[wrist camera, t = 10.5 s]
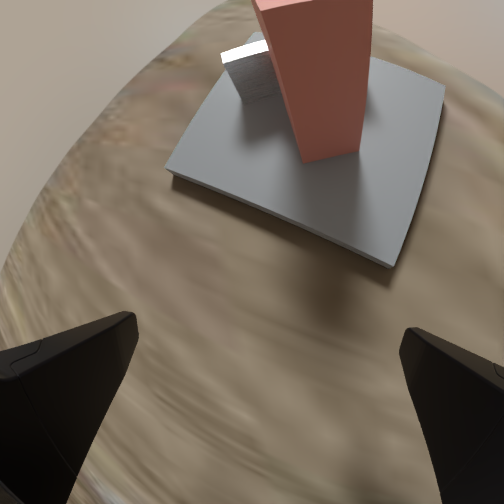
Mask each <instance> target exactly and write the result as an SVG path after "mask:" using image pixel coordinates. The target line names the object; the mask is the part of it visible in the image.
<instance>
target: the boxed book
mask: <svg viewBox="0 0 504 504" xmlns="http://www.w3.org/2000/svg"><path fill="white" fill-rule="evenodd" d="M251 2H252V5H253V7H254V10H255V13H256V16H257V18H258V21H259V24H260V27H261V30H262V33H263V36H264V39H265V42H266V45H267V48H268V51H269V54H270V57H271V60H272V63H273V67H274V70H275V73H276V76H277V80H278V83H279V86H280V90H281V93H282V96H283V100H284V103H285V107H286V110H287V113H288V116H289V119H290V122H291V126H292V129H293V132H294V135H295V138H296V142H297V145H298V148H299V152H300V155H301V158H302V162H303V164H304V163H308V162H312V161H316V160H321V159H325V158H329V157H334V156H338V155H343V154H347V153H352V152H357V151H359V150H360V143H361V136H362V129H363V122H364V114H365V106H366V97H367V88H368V78H369V67H370V54H371V38H372V16H373V13H372V12H373V0H251Z"/></svg>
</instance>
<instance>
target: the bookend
mask: <svg viewBox="0 0 504 504" xmlns="http://www.w3.org/2000/svg"><path fill="white" fill-rule="evenodd" d="M221 57H222V62H223V65H224V67H225V69H226V70H227V72H228V74H229V76H230V78H231V80H232V82H233V84H234V86H235V88H236V90H237V92H238V94H239V96H240V98H241V100H242V102H243V104H244V105H245V104H248V103H252V102H255V101H259V100H262V99H266V98H269V97H273V96H277V95H281V94H282V93H281V90H280V86H279V83H278V80H277V76H276V73H275V70H274V67H273V63H272V60H271V57H270V54H269V51H268V48H267V45H266V42H265V40H263V41H259V42H256V43H252V44H249V45H245V46H242V47H239V48H235V49H232V50H229V51H226V52H223V53H221Z"/></svg>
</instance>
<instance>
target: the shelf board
mask: <svg viewBox="0 0 504 504" xmlns="http://www.w3.org/2000/svg"><path fill="white" fill-rule="evenodd" d="M263 40H265V39H264V36H263V33H259V32H254V33H253V34H252V35H251V37H250V38H249V39H248V40H247V42H246V43H245V44H244V46H245V45H249V44H252V43H256V42H259V41H263ZM445 87H446V86H444V85H442V84H440V83H438V82H436V81H434V80H432V79H429V78H427V77H425V76H422V75H420V74H418V73H415V72H413V71H410V70H408V69H405V68H403V67H400V66H397V65H395V64H392V63H389V62H386V61H383V60H380V59H377V58H374V57H371V56H370V67H369V78H368V88H367V97H366V106H365V114H364V122H363V129H362V136H361V143H360V150H359V151H357V152H352V153H347V154H343V155H338V156H334V157H329V158H325V159H321V160H316V161H312V162H308V163H304V164H303V162H302V158H301V155H300V152H299V148H298V145H297V142H296V138H295V135H294V132H293V129H292V126H291V122H290V119H289V116H288V113H287V110H286V107H285V103H284V100H283V96H282V94H281V95H277V96H273V97H269V98H266V99H262V100H259V101H255V102H252V103H248V104H245V105H244V104H243V102H242V100H241V98H240V96H239V94H238V92H237V90H236V88H235V86H234V84H233V82H232V80H231V78H230V76H229V74H228V72H227V70H225V71H224V73H223V74H222V76H221V77H220V78H219V80H218V81H217V83H216V84H215V86H214V87H213V89H212V90H211V92H210V93H209V95H208V96H207V98H206V99H205V101H204V102H203V104H202V105H201V107H200V108H199V110H198V111H197V113H196V115H195V116H194V118H193V119H192V121H191V123H190V124H189V126H188V127H187V129H186V131H185V132H184V134H183V136H182V137H181V139H180V141H179V142H178V144H177V146H176V148H175V149H174V151H173V153H172V155H171V156H170V158H169V160H168V162H167V163H166V165H165V167H164V168H165V169H167V170H168V171H169V172H171V173H172V174H173V175H176V176H178V177H181V178H183V179H186V180H188V181H191V182H194V183H196V184H199V185H201V186H204V187H206V188H209V189H211V190H213V191H216V192H218V193H221V194H223V195H226V196H228V197H231V198H233V199H235V200H238V201H240V202H243V203H245V204H247V205H250V206H252V207H254V208H257V209H259V210H261V211H264V212H266V213H268V214H271V215H273V216H275V217H278V218H280V219H282V220H285V221H287V222H289V223H291V224H294V225H296V226H298V227H300V228H303V229H305V230H307V231H309V232H312V233H314V234H316V235H318V236H320V237H323V238H325V239H327V240H329V241H331V242H333V243H336V244H338V245H340V246H342V247H344V248H346V249H349V250H351V251H353V252H355V253H357V254H359V255H361V256H363V257H365V258H368V259H370V260H372V261H374V262H376V263H378V264H380V265H382V266H384V267H386V268H388V269H390V268H392V267H394V265H395V262H396V260H397V257H398V255H399V252H400V250H401V247H402V244H403V242H404V239H405V236H406V234H407V231H408V228H409V225H410V223H411V220H412V217H413V214H414V211H415V208H416V205H417V202H418V199H419V196H420V192H421V189H422V186H423V183H424V179H425V176H426V172H427V169H428V165H429V161H430V158H431V154H432V150H433V146H434V142H435V137H436V133H437V129H438V124H439V119H440V114H441V109H442V104H443V99H444V93H445Z"/></svg>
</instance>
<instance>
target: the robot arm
mask: <svg viewBox="0 0 504 504" xmlns="http://www.w3.org/2000/svg"><path fill="white" fill-rule="evenodd" d="M138 339H139V333H138V326H137V319H136V315H135V314H134V313H133V312H128V311H122V312H119V313H116V314H113V315H110V316H107V317H105V318H102V319H99V320H96V321H93V322H90V323H87V324H84V325H81V326H78V327H75V328H73V329H70V330H67V331H64V332H61V333H58V334H55V335H52V336H49V337H46V338H43V339H40V340H37V341H34V342H31V343H28V344H24V345H21V346H18V347H14V348H10V349H7V350H3V351H0V504H66V503H67V500H68V498H69V496H70V493H71V491H72V488H73V486H74V484H75V481H76V479H77V477H76V476H78V474H79V471H80V469H81V467H82V464H83V462H84V460H85V458H86V455H87V453H88V451H89V449H90V447H91V444H92V442H93V440H94V438H95V436H96V434H97V431H98V429H99V427H100V425H101V423H102V421H103V419H104V417H105V415H106V413H107V411H108V408H109V406H110V404H111V402H112V400H113V398H114V396H115V394H116V392H117V390H118V388H119V386H120V384H121V382H122V380H123V378H124V376H125V374H126V371H127V369H128V366H129V363H130V361H131V358H132V355H133V353H134V350H135V347H136V345H137V342H138ZM399 355H400V359H401V363H402V367H403V371H404V375H405V379H406V383H407V386H408V390H409V393H410V396H411V399H412V402H413V404H414V407H415V410H416V413H417V416H418V419H419V422H420V425H421V428H422V431H423V434H424V437H425V440H426V444H427V447H428V450H429V454H430V457H431V461H432V464H433V468H434V471H435V475H436V479H437V483H438V487H439V491H440V496H441V500H442V504H504V367H502V366H500V365H498V364H496V363H492V362H491V361H489V360H487V359H485V358H483V357H480V356H478V355H476V354H474V353H472V352H470V351H467V350H465V349H463V348H461V347H459V346H457V345H455V344H452V343H450V342H448V341H446V340H444V339H442V338H440V337H437V336H435V335H433V334H431V333H429V332H427V331H424V330H422V329H420V328H418V327H412V328H407V329H406V330H405V333H404V336H403V339H402V342H401V345H400V349H399Z"/></svg>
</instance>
